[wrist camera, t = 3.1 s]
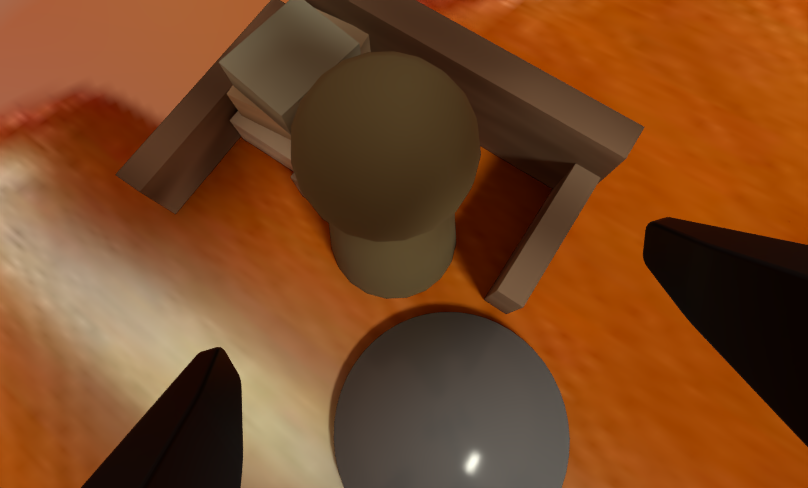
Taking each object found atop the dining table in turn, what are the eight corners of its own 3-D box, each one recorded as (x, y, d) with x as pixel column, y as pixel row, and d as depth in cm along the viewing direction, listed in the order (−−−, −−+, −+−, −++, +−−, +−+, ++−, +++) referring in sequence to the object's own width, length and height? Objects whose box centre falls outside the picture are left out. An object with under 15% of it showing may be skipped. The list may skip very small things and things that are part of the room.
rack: (452, 406, 19) (469, 425, 14) (154, 199, 22) (78, 151, 17) (591, 177, 22) (647, 124, 17) (311, 14, 24) (287, -75, 19)
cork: (482, 232, 21) (560, 108, 11) (397, 326, 20) (390, 293, 9) (390, 155, 22) (377, -30, 12) (305, 240, 21) (204, 123, 10)
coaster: (489, 617, 17) (491, 623, 17) (288, 463, 19) (286, 465, 18) (606, 395, 19) (610, 396, 19) (417, 271, 21) (417, 269, 20)
